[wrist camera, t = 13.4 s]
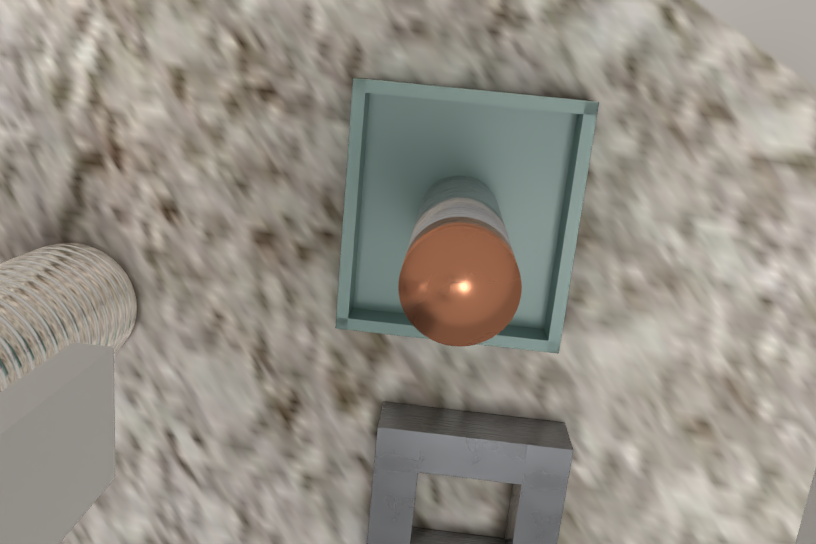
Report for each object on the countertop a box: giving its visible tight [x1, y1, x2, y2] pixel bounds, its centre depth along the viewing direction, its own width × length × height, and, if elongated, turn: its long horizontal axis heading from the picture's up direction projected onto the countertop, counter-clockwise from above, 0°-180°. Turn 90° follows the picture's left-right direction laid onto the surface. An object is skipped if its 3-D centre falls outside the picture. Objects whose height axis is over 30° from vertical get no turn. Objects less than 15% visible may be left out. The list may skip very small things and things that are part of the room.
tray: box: [335, 78, 599, 353], centre depth 35 cm, size 11×12×2 cm
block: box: [367, 402, 573, 544], centre depth 39 cm, size 10×10×3 cm
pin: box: [398, 176, 522, 346], centre depth 30 cm, size 4×4×13 cm
